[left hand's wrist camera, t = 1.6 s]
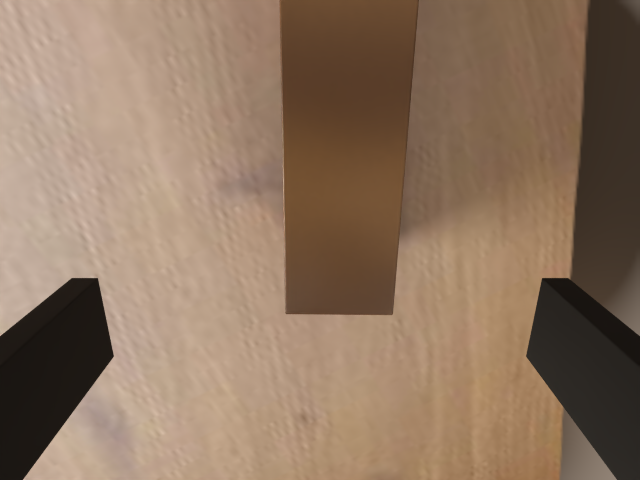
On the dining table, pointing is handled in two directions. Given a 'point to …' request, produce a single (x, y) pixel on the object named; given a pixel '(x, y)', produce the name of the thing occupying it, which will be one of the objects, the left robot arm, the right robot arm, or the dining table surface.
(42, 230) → the dining table surface
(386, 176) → the bar
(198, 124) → the dining table surface
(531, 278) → the dining table surface
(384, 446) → the dining table surface
